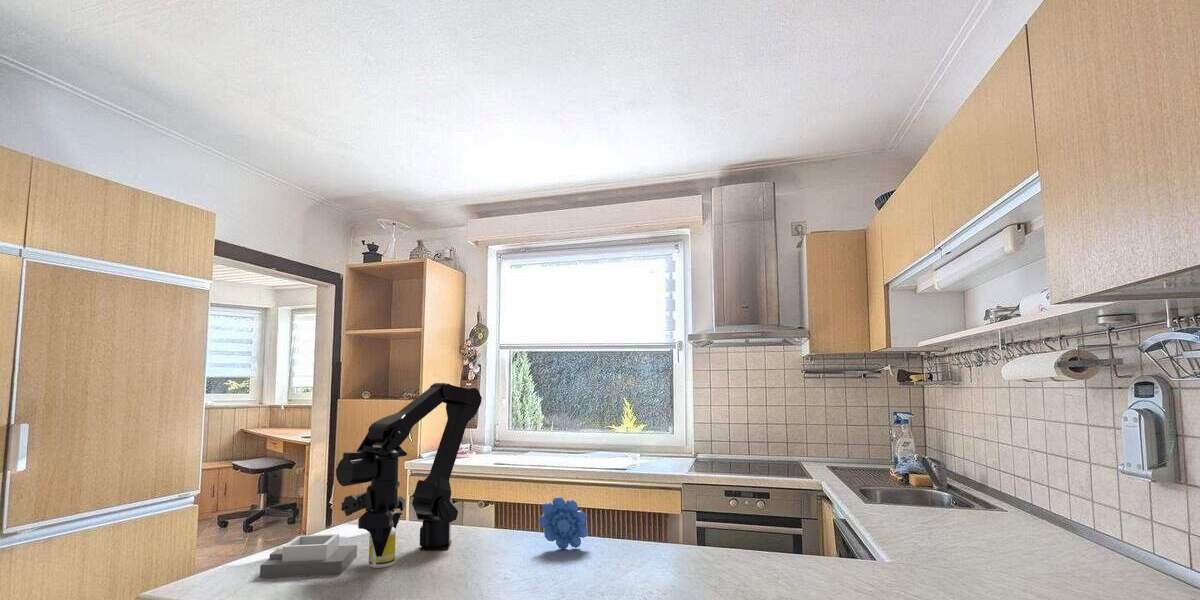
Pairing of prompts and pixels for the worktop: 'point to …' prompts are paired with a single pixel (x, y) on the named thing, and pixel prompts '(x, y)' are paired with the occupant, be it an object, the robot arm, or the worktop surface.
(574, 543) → the blue flower
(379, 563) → the supplement bottle
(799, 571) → the worktop surface
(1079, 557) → the worktop surface
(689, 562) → the worktop surface
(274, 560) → the stepped tray stack
